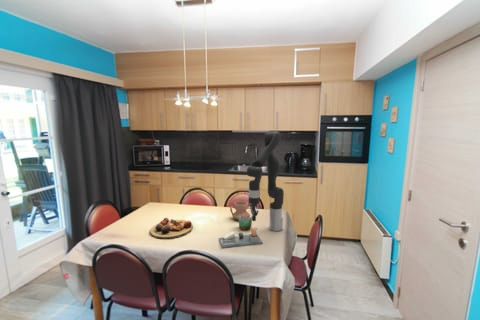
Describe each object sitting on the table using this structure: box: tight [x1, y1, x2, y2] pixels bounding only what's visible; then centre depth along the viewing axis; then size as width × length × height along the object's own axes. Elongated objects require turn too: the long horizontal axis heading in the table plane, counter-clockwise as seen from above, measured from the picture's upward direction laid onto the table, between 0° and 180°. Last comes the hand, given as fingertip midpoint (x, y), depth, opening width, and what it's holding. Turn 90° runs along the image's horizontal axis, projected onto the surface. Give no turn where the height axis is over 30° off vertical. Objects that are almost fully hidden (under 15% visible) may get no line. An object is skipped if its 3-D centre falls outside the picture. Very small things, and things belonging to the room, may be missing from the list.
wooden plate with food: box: [149, 217, 194, 240], centre depth 181 cm, size 32×32×8 cm
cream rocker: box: [223, 230, 236, 240], centre depth 163 cm, size 8×4×2 cm, turn 102°
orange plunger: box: [250, 227, 258, 237], centre depth 161 cm, size 4×4×5 cm
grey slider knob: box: [235, 233, 239, 243], centre depth 158 cm, size 2×4×5 cm, turn 13°
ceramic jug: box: [229, 200, 251, 221], centre depth 201 cm, size 18×14×14 cm
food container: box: [238, 215, 253, 231], centre depth 181 cm, size 12×6×10 cm, turn 66°
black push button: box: [237, 232, 244, 239], centre depth 165 cm, size 4×4×2 cm
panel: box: [218, 233, 263, 249], centre depth 162 cm, size 28×13×4 cm, turn 103°
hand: (253, 220), depth 159 cm, fingers closed
